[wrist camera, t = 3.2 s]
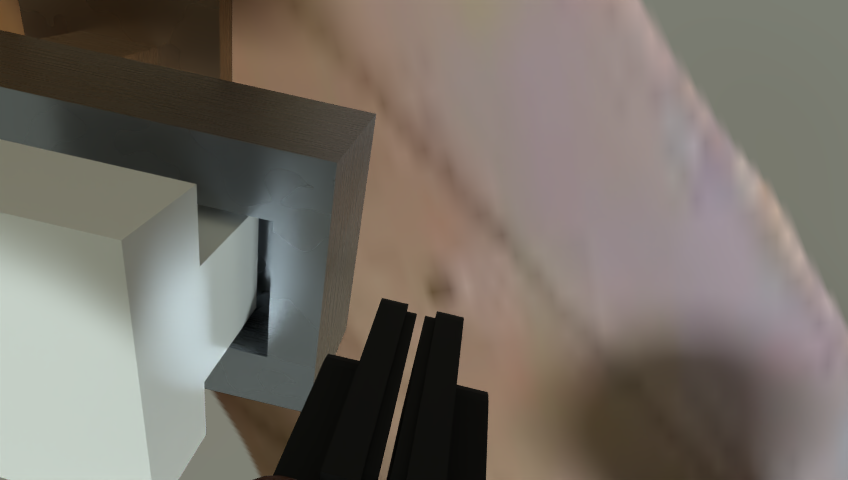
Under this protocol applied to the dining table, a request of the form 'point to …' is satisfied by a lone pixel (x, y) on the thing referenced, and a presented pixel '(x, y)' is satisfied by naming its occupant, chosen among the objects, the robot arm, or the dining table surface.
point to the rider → (111, 316)
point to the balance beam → (206, 158)
